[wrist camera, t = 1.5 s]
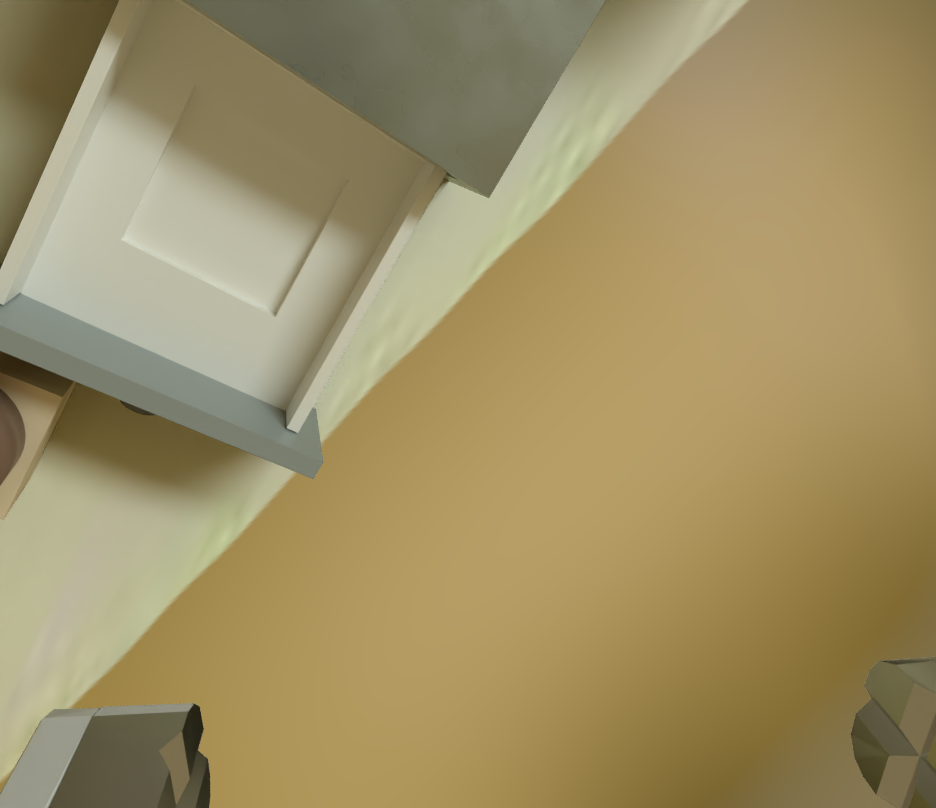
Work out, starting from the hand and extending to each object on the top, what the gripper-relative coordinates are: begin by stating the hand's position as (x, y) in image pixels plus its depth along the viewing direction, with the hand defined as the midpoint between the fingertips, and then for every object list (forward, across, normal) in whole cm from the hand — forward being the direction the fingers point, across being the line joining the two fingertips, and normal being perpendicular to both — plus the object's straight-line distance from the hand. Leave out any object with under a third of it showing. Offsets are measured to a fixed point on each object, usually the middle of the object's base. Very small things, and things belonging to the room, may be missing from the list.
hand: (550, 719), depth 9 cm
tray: (+30, +10, -1) cm, 32 cm away
